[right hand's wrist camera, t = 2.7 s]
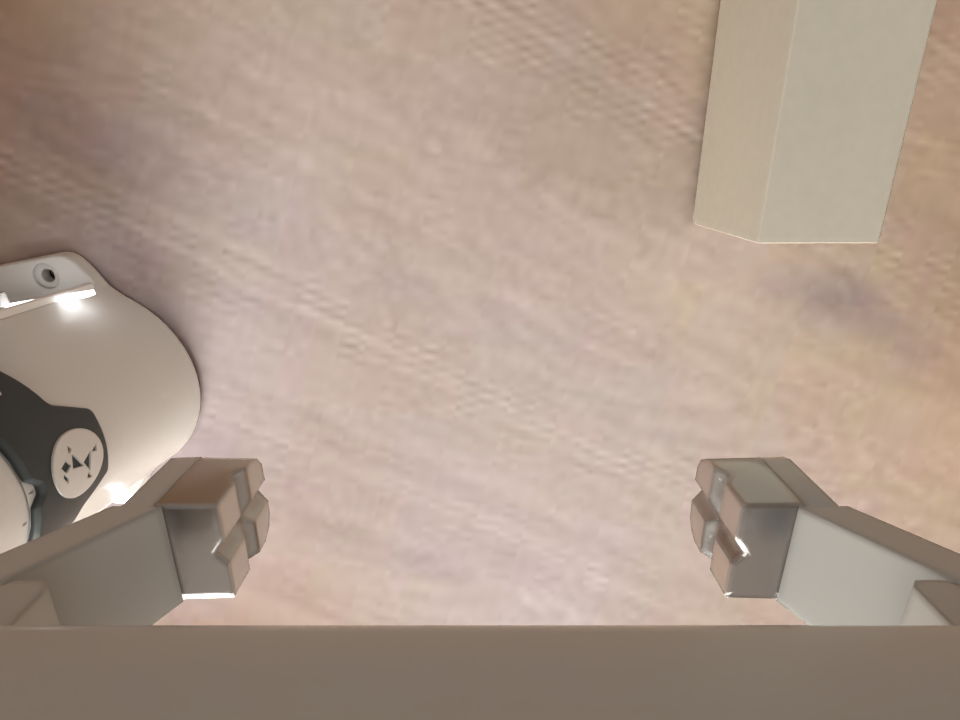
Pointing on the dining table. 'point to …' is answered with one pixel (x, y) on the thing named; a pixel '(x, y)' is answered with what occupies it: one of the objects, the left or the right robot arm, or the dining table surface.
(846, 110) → the box
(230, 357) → the dining table surface
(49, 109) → the dining table surface
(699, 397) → the dining table surface
